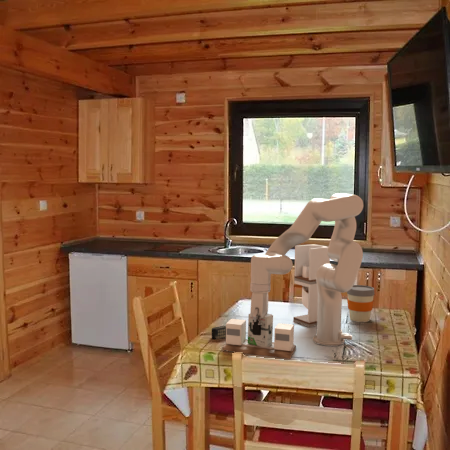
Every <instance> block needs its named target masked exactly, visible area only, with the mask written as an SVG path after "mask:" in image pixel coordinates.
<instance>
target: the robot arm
mask: <svg viewBox="0 0 450 450" xmlns="http://www.w3.org/2000/svg"><path fill="white" fill-rule="evenodd" d="M363 209H364V201H363V199H362V198H361V197H360V196H359V195H356V194H354V193H353V194H351V193H334V194H332V195H331V196H330V197H329V199H328V198H312V199H311V200H309V201H308V202H307V203H306V204H305V206H304V208H303V209H302V211H300V213H299V215H298V216H297V218H295V220H294V222H293V223H292V225H291V226H290V227H289V228H288V229H286V230H285V231H284V232H283V233H281V235H279V236H278V237H277V238H275V239H274V241H273V242H272V243H271V245H270V247H268V249H267V250H266V252H265V253H264V254H254V255H251V259H250V293H251V298H250V299H251V301H250V312H249V314H250V317H251V318H253V326H252V334H253V335H261V325H260V323H261V319H262V318H264V316H265V315H266V314H269V313H268V312H269V293H270V292H271V277H272V275H286V274H289V273H290V272H291V270H292V269H293V267H294V264H293V260H292V259H291V258H290V256H288V255H286V254H288V252H289V251H290V250H291V249H293V248H295V246H299V245H301V244H303V243H305V242H308V241H309V240H310V239H311V237H312V235H314V233H315V232H316V230H317V229H318V228H319V226H320V225H321V223H322V222H324V223H325V222H326V223H330V222H334V227H333V232H332V235H331V237H330V240H329V243H328V246H327V247H328V250H327V254H328V257H329V258H330V261H331V260H332V261H333V262H336V263H337V265H336V264H333V263H330V264H324V265H322V266H320V267H319V269H318V270H317V273H316V282H317V289H318V309H317V326H316V334H315V335H314V336H312V341H313V342H314V343H315V344H317V345H321V346H326V347H336V346H342V345H343V344H345V340H348V341H352V340H353V335H352V334H350V333H344V332H343V329H342V309H343V308H342V307H343V306H342V305H343V299H342V298H343V296H342V293H347V291H349V290H350V289H351V288H352V287H353V285H355V284H356V283H355V282H356V280H357V276H358V274H359V272H360V268H361V265H362V261H363V256H364V254H363V252H364V251H363V248H362V246H361V244H360V243H358V242H356V241H354V239H355V235H356V233H357V232H356V231H357V219H356V217H357V216H359V215H360V214H361V213H362V211H363ZM258 316H260V317H258ZM258 319H259V321H258Z"/></svg>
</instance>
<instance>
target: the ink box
mask: <svg viewBox="0 0 450 450" xmlns="http://www.w3.org/2000/svg"><path fill="white" fill-rule="evenodd" d="M258 317H260V316H258ZM247 318H248V319H247V320H248V321H247V325H248V326H247V339H248V344H253V345H257V346H262V347H268V346H270V345H272V342H273V330H274V327H273V326H274V315H273V314H272V313H267V314H266V315H265V316H264V318H262V319H261V323H260V325H261V335H253V334H252V326H253V318H251V317H250V313H248V317H247ZM258 321H259V319H258Z"/></svg>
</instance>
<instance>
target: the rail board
mask: <svg viewBox="0 0 450 450" xmlns="http://www.w3.org/2000/svg"><path fill="white" fill-rule="evenodd" d="M296 349H297V344H294V345H293V347H292V349H291V350H290V351H286V350H277V349H274V342H273V341H272V345H270V346H268V347H262V346H257V345H253V344H248V338H247V339H246V340H245V341H244V342H243V344H242V345H233V344H226V343H225V344H224V345H223V346H222V351H223V350H228V351H235V352H234V353H236V352H243V353H242V354H245V355H253V356H254V355H256V356H264V357H271V358H272V357H273V358H279V359H280V358H281V359H287V360H288V359H291V358H292V356H293V354H294V352H295V351H296ZM228 351H227V352H228Z"/></svg>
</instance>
